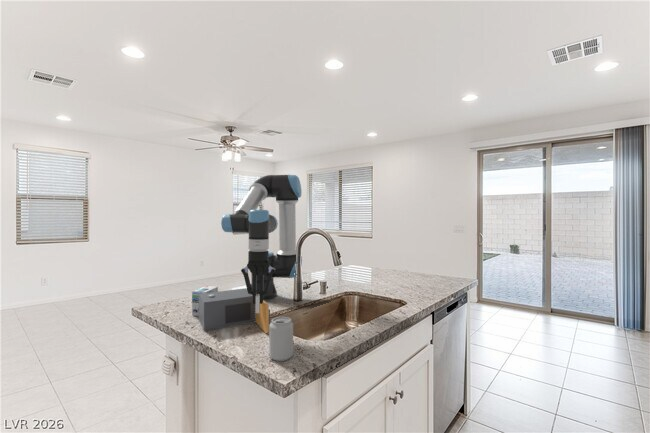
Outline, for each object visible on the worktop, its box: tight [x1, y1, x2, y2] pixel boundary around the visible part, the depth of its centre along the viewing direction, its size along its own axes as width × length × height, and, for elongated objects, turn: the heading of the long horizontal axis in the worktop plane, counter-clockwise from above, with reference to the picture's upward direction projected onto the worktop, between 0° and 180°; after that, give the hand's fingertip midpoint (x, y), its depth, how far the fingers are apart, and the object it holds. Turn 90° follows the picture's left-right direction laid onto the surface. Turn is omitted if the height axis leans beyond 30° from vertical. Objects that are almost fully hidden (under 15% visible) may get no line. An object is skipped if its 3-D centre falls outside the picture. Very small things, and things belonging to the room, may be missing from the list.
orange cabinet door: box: [254, 300, 271, 334], centre depth 124 cm, size 15×2×10 cm, turn 28°
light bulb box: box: [191, 285, 219, 317], centre depth 142 cm, size 11×7×11 cm, turn 168°
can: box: [268, 316, 294, 362], centre depth 100 cm, size 8×8×12 cm
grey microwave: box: [198, 287, 256, 332], centre depth 132 cm, size 21×14×12 cm
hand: (257, 312), depth 120 cm, fingers closed
